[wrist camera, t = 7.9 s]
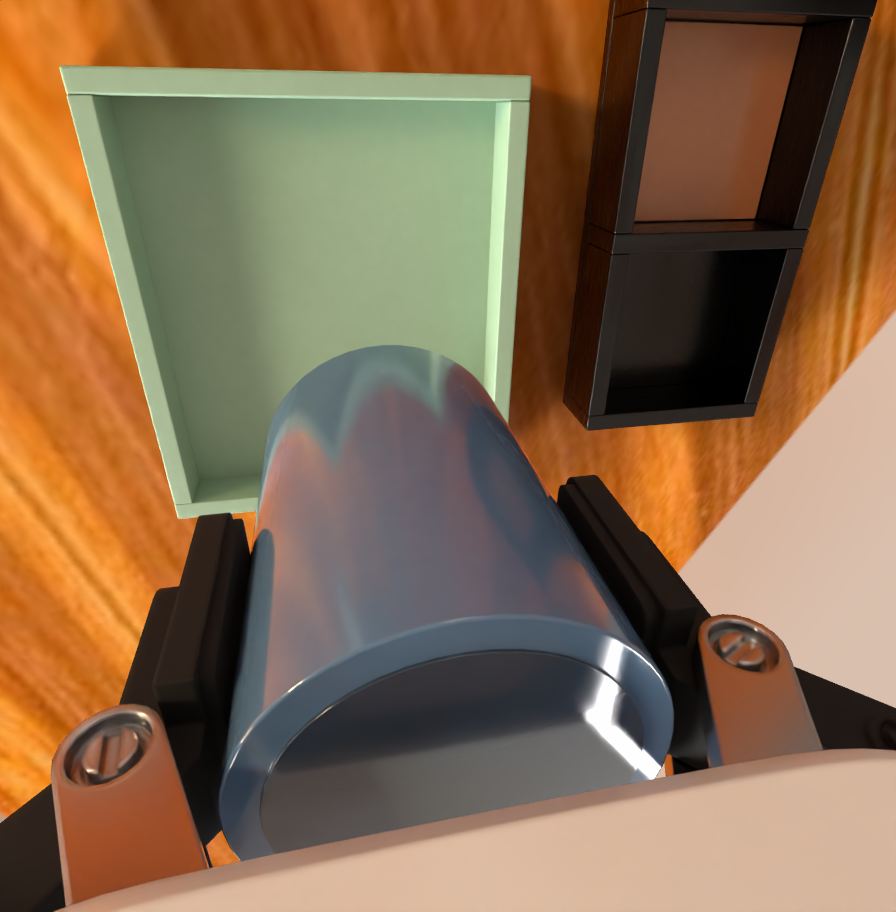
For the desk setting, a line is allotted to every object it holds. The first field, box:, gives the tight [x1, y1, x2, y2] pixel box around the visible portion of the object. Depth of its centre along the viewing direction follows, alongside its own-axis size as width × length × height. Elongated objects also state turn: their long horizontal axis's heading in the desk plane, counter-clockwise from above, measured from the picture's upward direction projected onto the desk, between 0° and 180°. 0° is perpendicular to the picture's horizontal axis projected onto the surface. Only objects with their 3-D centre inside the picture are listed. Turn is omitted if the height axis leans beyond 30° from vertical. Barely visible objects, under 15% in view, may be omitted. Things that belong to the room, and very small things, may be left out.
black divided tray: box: [563, 0, 877, 431], centre depth 27 cm, size 17×9×3 cm, turn 179°
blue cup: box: [218, 345, 674, 862], centre depth 12 cm, size 6×6×9 cm
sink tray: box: [60, 65, 532, 519], centre depth 26 cm, size 18×16×3 cm
